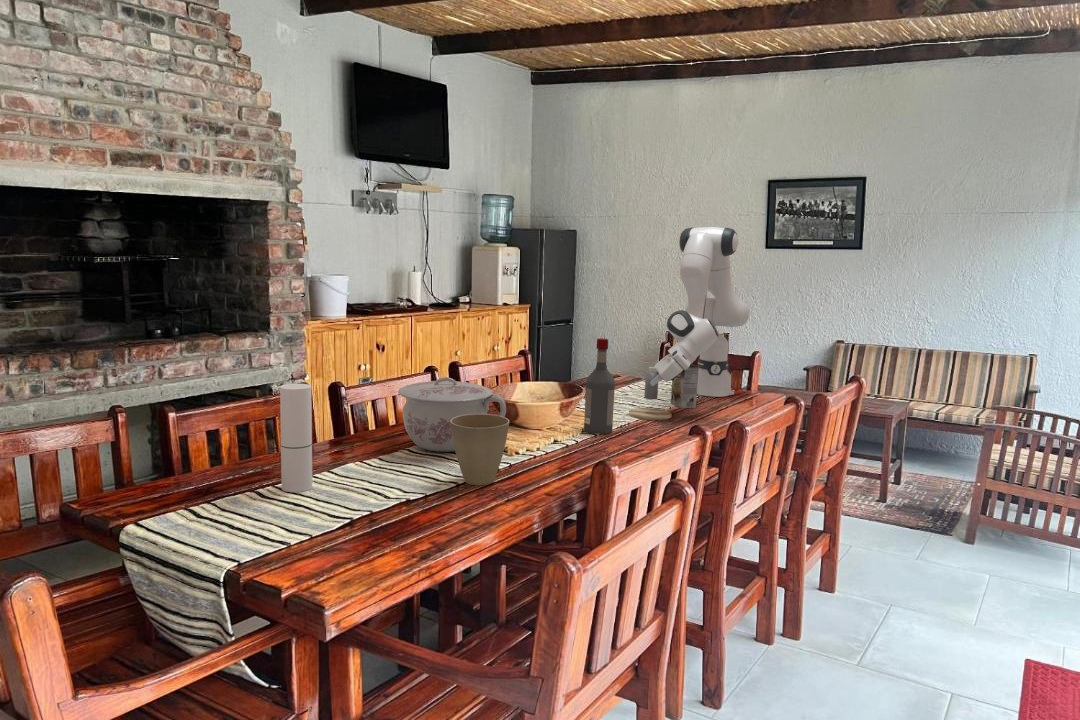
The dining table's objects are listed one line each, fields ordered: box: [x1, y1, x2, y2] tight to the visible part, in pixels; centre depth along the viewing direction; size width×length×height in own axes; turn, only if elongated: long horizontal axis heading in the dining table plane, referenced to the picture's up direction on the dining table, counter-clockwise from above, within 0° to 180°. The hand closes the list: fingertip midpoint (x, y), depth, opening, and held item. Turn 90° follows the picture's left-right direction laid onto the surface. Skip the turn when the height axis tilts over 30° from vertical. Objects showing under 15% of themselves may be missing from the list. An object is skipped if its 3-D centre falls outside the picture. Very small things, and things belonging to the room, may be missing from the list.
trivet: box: [628, 407, 673, 421], centre depth 285 cm, size 15×15×1 cm
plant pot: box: [450, 413, 510, 486], centre depth 203 cm, size 15×15×16 cm
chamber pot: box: [397, 376, 507, 453], centre depth 234 cm, size 28×28×21 cm
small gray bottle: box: [643, 366, 659, 400], centre depth 283 cm, size 5×5×11 cm
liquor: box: [583, 337, 616, 435], centre depth 259 cm, size 9×9×30 cm
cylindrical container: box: [279, 383, 313, 493], centre depth 193 cm, size 7×7×25 cm
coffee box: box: [670, 362, 699, 409], centre depth 303 cm, size 9×6×16 cm
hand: (649, 383), depth 283 cm, fingers closed on small gray bottle, 5 cm apart
